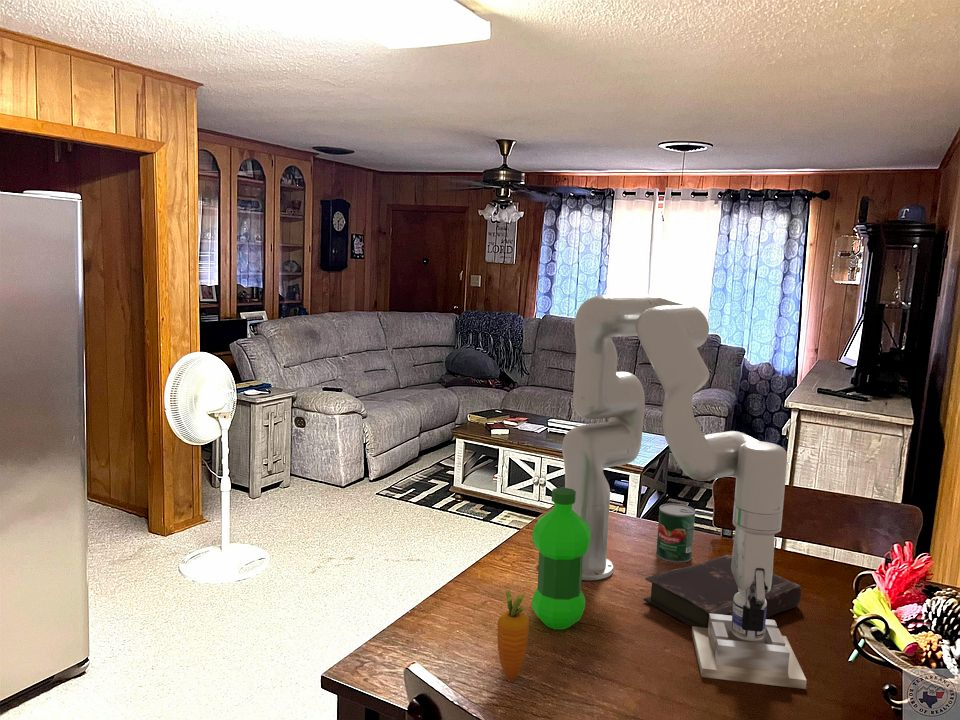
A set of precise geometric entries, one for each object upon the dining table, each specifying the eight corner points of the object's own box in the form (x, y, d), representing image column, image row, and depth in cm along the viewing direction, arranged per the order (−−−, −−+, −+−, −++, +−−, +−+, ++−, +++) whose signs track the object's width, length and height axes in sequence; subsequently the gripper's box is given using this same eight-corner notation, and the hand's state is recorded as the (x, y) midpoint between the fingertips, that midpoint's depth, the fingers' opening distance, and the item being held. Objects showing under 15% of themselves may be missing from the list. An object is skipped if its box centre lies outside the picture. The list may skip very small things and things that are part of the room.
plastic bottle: (589, 614, 141) (596, 486, 138) (579, 641, 131) (586, 504, 128) (537, 605, 144) (543, 479, 141) (524, 631, 134) (529, 496, 131)
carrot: (493, 673, 120) (496, 585, 118) (524, 673, 121) (528, 585, 119) (497, 691, 116) (500, 599, 113) (529, 691, 116) (532, 599, 114)
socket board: (701, 676, 121) (703, 648, 121) (691, 634, 135) (693, 607, 134) (805, 689, 119) (808, 659, 118) (785, 644, 132) (787, 617, 132)
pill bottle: (759, 627, 128) (763, 578, 127) (768, 643, 123) (772, 592, 122) (727, 625, 129) (731, 576, 128) (734, 640, 124) (739, 590, 123)
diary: (801, 609, 146) (803, 585, 146) (717, 643, 132) (720, 616, 132) (722, 572, 161) (724, 550, 161) (640, 599, 147) (642, 575, 147)
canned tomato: (656, 560, 167) (659, 513, 166) (656, 547, 175) (659, 501, 173) (692, 564, 165) (696, 516, 164) (691, 551, 173) (694, 505, 171)
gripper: (725, 499, 132) (717, 596, 135) (742, 534, 116) (733, 644, 118) (769, 502, 131) (761, 600, 134) (794, 538, 114) (783, 650, 117)
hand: (748, 620), depth 126 cm, fingers closed on pill bottle, 5 cm apart
